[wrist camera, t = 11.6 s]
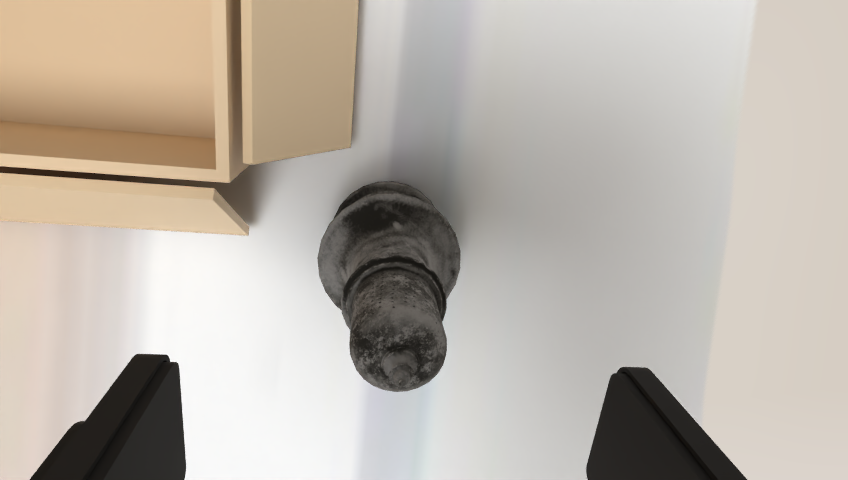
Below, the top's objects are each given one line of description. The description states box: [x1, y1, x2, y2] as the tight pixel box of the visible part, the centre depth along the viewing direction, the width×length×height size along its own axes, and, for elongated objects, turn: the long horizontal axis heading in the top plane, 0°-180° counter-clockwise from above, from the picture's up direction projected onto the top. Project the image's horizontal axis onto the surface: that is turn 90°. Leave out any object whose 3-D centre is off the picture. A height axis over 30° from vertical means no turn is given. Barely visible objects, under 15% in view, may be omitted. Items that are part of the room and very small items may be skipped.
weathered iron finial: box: [318, 182, 460, 392], centre depth 19 cm, size 6×6×12 cm
